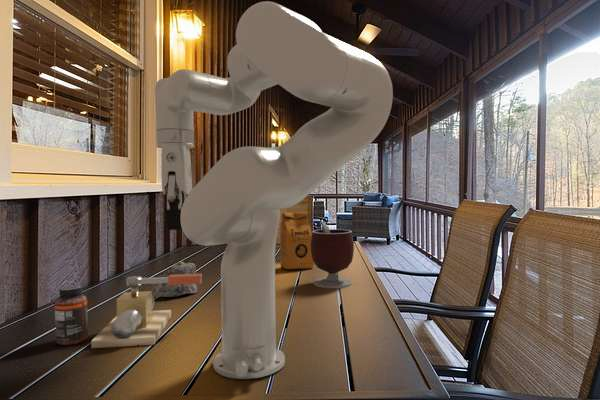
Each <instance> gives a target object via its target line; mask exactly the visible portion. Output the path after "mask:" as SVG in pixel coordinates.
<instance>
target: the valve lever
mask: <svg viewBox="0 0 600 400" xmlns="http://www.w3.org/2000/svg"><path fill="white" fill-rule="evenodd" d="M202 282H203V273H196V274H176V275H170V276H169V277H161V276H160V277H143V276H142V275H141V276H140V275H134V276H128V277H126V287H129V288H131V287H133V286H142V285H148V284H149V285H151V284H152V285H153V284H154V283H168V285H186V284H198V285H201V284H202Z"/></svg>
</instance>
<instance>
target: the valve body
mask: <svg viewBox="0 0 600 400" xmlns="http://www.w3.org/2000/svg"><path fill="white" fill-rule="evenodd" d="M155 305H156V300H155V298H154V295H153V291H152V290H150V291H149V290H148V291H147V290H146V291H139V286H133V287H130V291H125V292H124V293H122V294H121V295H120V296H119V297H117V298H116V316H117V319H116V320H115V321H114V322H113V323H112V326H111V331H112V333H113V335H114V336H115V337H117V338H119V339H126V338H128V337H130V336H131V335H132V334H133V332H134V331H135V330H136V328H144V327H147V326H148V324H149V323H150V322H151V320H152V319H153V317H152V311H153V308H154V307H155Z"/></svg>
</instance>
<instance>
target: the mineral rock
mask: <svg viewBox="0 0 600 400" xmlns="http://www.w3.org/2000/svg"><path fill="white" fill-rule="evenodd" d="M176 274H197V267H196V264H195V263H193V262H187V263H185V262H184V261H177V263H176V262H175V264H174V265H173V266H172V267H171V268H169V269H168V270H167V271H165V272H164V273H163V274H162V275H161V276H160V277H169V276H170V275H176ZM152 286H153V291H152V295H153V296H155V297H157V298H159V297H161V298H166V297H167V298H173V297H174V298H176V297H179V296H183V295H188V294H197V293H199V284H186V285H168V283H154V284H152Z"/></svg>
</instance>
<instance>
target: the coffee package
mask: <svg viewBox="0 0 600 400" xmlns="http://www.w3.org/2000/svg"><path fill="white" fill-rule="evenodd" d="M308 216H309V212H308V211H300V212H282V213H281V223H280V232H279V238H280V239H279V240H280V243H279V248H280V249H279V250H280V251H279V252H280V257H279V258H280V268H282V269H285V270H293V271H294V270H295V271H296V270H306V269H314V266H315V263H314V262H313V259H312V254H311V238H312V233H313V232H312V229H311V225H310V220H309V218H308Z"/></svg>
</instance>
